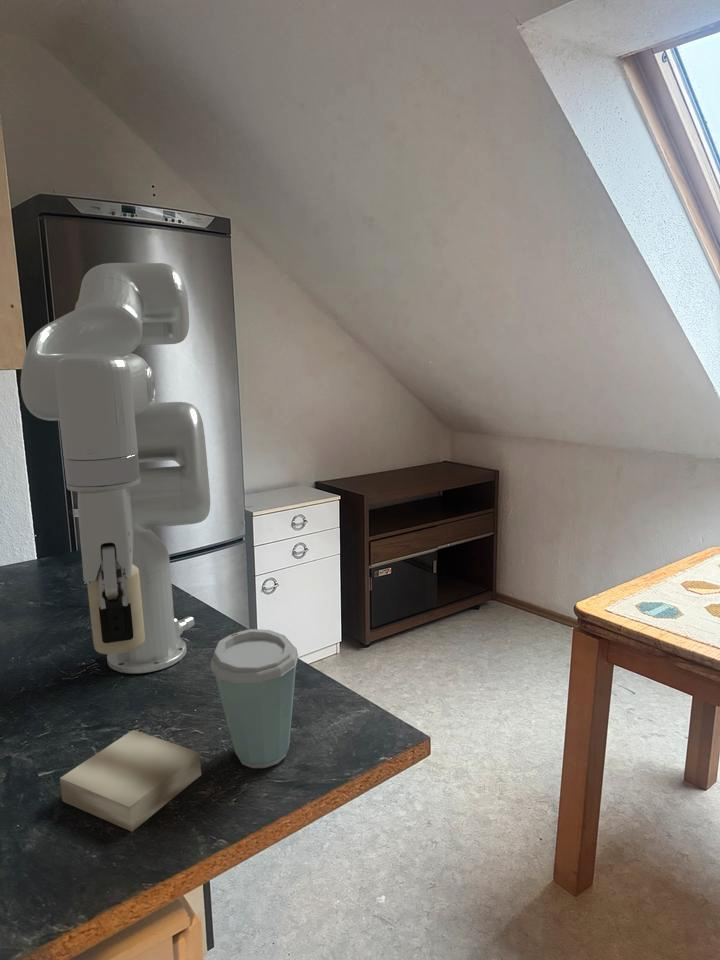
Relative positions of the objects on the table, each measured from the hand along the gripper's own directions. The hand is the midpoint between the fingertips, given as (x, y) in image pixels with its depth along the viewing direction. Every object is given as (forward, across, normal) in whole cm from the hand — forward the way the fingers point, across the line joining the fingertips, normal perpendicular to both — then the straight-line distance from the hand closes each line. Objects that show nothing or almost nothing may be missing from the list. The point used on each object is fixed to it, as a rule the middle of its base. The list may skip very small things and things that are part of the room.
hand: (118, 627), depth 78 cm
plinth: (+20, +1, 0) cm, 20 cm away
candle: (+2, 0, 0) cm, 2 cm away
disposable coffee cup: (+20, -1, +15) cm, 25 cm away
